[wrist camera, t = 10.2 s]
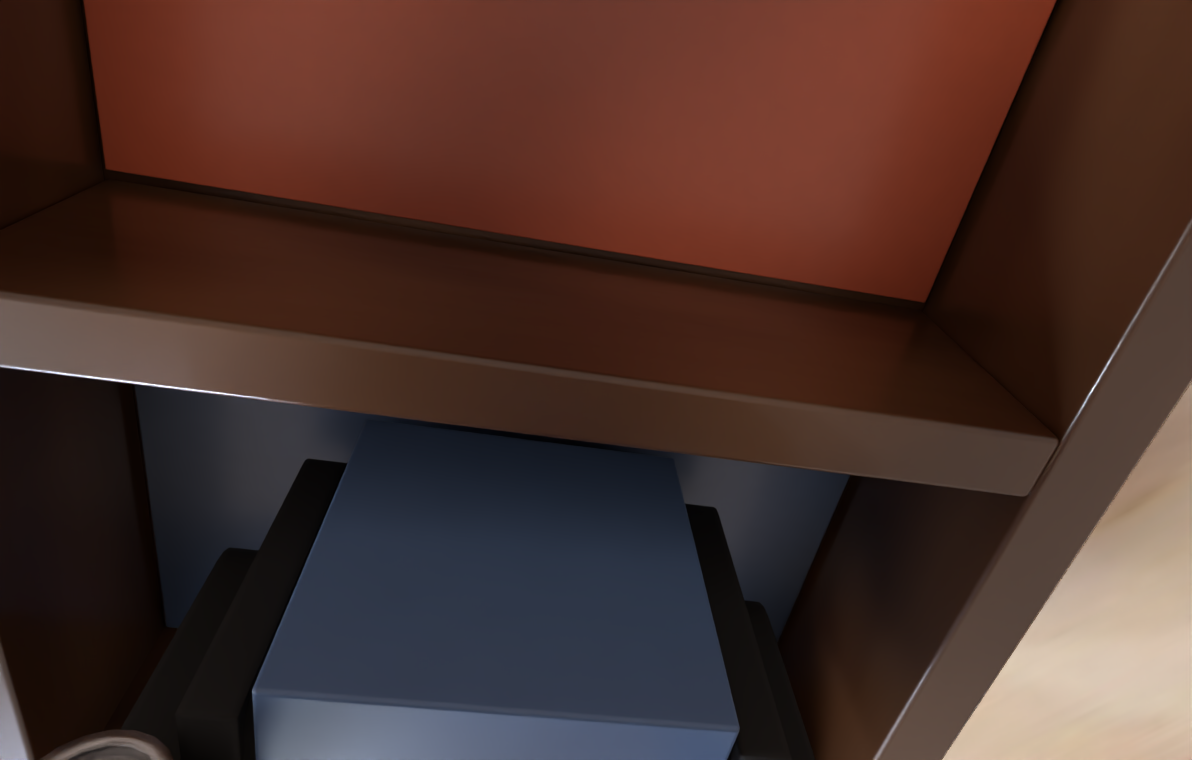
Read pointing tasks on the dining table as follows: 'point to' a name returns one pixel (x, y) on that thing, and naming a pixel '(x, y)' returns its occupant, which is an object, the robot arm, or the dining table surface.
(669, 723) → the slate block
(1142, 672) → the dining table surface
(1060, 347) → the sorting tray
